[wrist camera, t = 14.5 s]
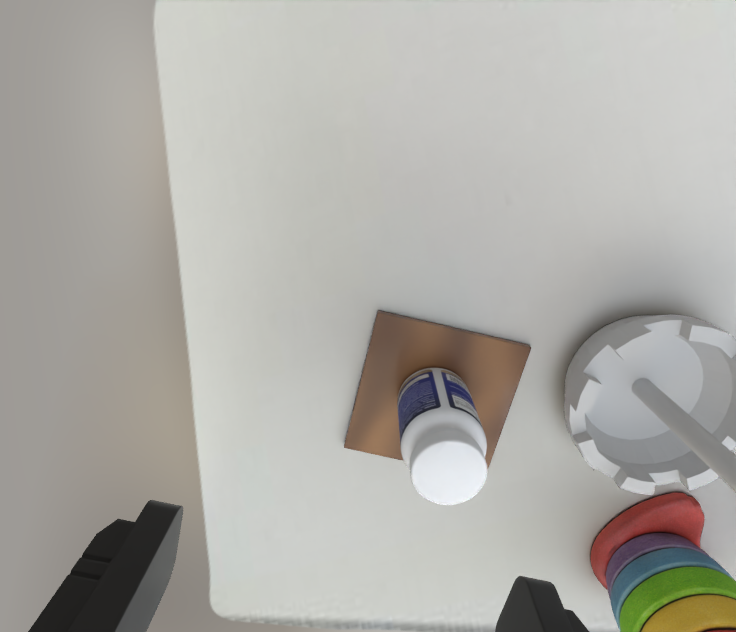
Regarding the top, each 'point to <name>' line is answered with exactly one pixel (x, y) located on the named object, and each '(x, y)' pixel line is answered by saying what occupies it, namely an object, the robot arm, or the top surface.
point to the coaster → (431, 350)
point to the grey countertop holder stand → (655, 402)
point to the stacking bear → (663, 570)
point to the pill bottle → (441, 436)
